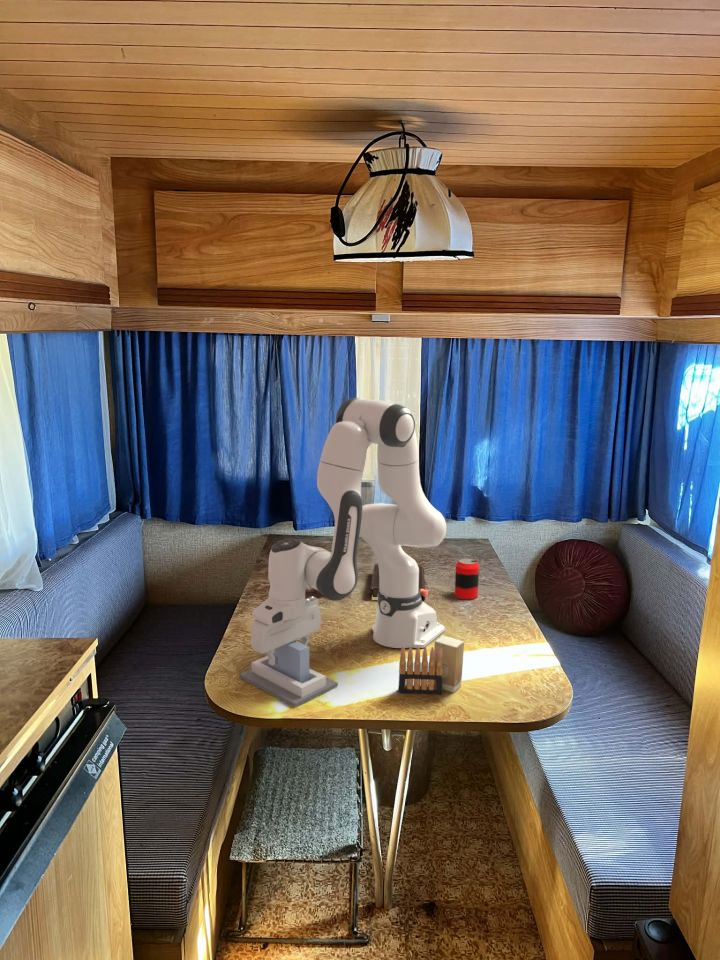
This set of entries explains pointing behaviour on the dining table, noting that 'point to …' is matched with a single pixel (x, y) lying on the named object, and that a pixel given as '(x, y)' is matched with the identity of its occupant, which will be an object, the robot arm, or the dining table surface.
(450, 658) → the skincare box
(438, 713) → the dining table surface
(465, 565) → the soda can
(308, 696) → the track base
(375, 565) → the diary
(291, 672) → the door panel
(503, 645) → the dining table surface
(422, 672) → the ammunition clip
